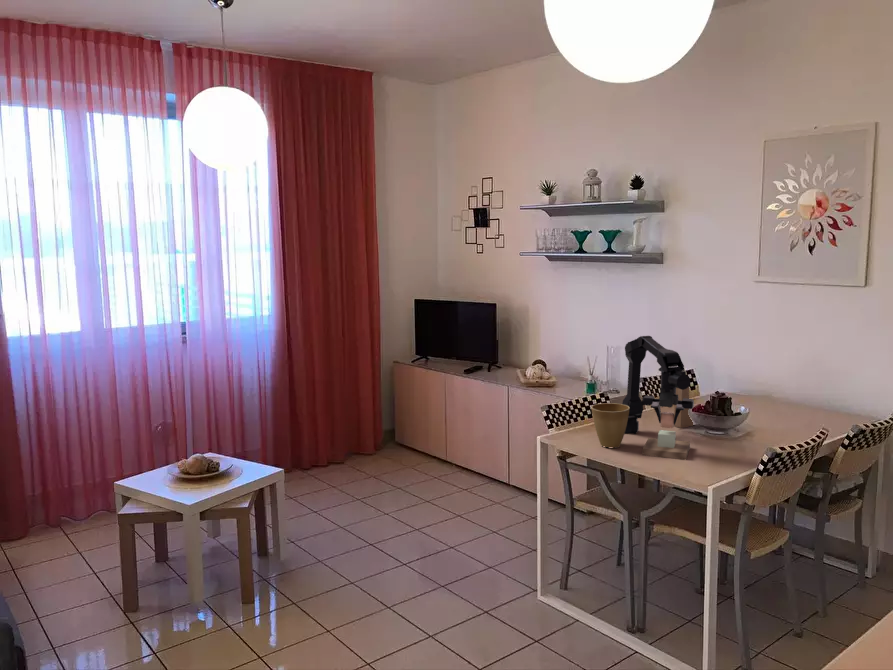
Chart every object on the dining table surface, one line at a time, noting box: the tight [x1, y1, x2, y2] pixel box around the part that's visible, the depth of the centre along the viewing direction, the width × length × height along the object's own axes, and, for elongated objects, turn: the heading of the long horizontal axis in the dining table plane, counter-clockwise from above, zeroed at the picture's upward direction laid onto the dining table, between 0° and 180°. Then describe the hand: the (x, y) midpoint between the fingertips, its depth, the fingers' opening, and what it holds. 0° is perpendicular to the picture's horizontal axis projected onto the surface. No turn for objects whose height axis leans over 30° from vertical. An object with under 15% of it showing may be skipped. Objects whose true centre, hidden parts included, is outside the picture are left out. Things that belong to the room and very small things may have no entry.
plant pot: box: [590, 402, 630, 449], centre depth 291 cm, size 15×15×16 cm
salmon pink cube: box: [660, 411, 675, 429], centre depth 281 cm, size 5×5×5 cm
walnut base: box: [642, 437, 691, 460], centre depth 283 cm, size 16×16×2 cm
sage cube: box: [657, 429, 677, 448], centre depth 282 cm, size 6×6×5 cm
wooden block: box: [673, 386, 694, 429], centre depth 318 cm, size 9×4×18 cm, turn 119°
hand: (667, 423), depth 282 cm, fingers closed on salmon pink cube, 5 cm apart
